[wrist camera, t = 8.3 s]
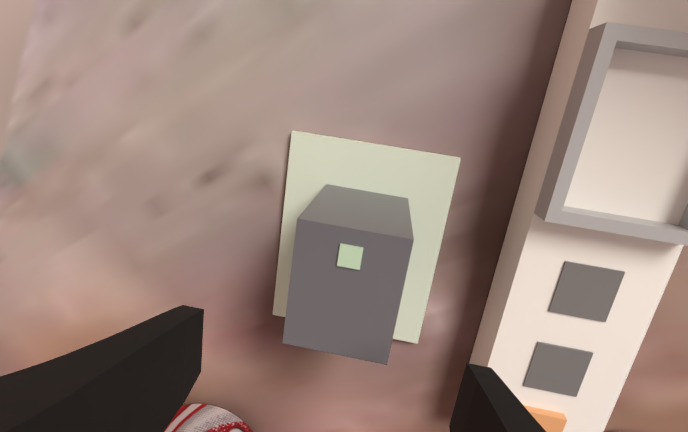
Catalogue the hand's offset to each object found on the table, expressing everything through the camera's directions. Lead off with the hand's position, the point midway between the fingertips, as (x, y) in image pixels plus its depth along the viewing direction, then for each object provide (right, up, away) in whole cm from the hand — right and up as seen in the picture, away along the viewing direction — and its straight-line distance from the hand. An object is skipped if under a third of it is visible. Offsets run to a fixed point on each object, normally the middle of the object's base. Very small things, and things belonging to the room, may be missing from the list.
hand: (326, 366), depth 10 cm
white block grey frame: (+11, +4, +8) cm, 14 cm away
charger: (+1, +3, +9) cm, 10 cm away
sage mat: (+1, +3, +10) cm, 10 cm away
